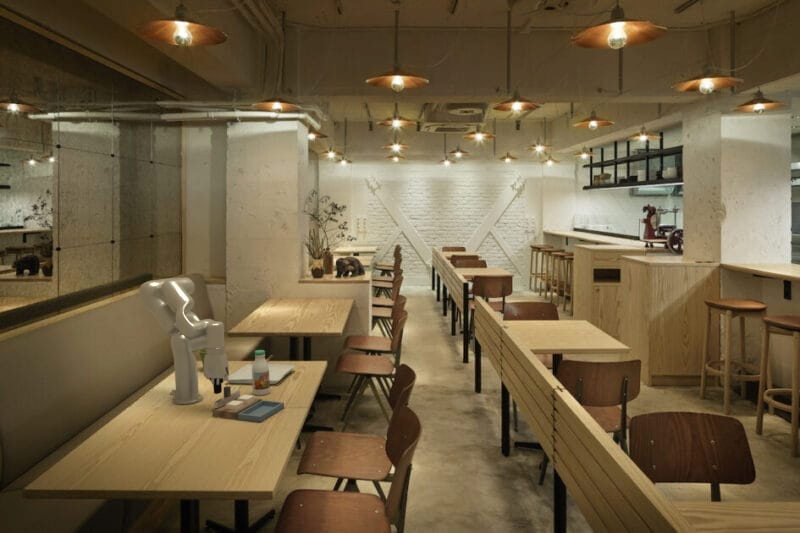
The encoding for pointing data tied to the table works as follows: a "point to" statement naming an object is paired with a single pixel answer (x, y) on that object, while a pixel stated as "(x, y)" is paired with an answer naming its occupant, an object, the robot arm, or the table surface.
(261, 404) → the box
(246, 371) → the square plate
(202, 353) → the plant pot
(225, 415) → the walnut board
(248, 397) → the white tile
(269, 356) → the kitchen cleaver
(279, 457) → the table surface
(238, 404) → the white tile
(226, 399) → the bar
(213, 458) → the table surface
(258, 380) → the milk bottle
